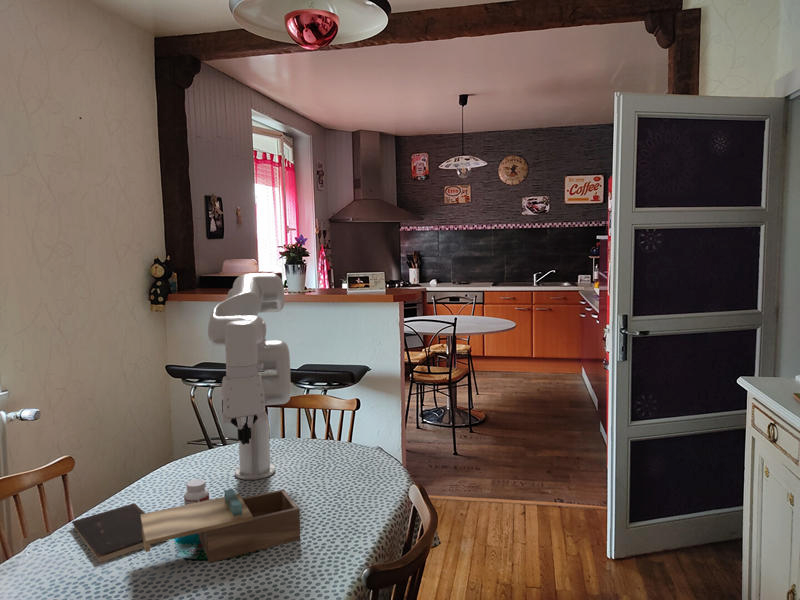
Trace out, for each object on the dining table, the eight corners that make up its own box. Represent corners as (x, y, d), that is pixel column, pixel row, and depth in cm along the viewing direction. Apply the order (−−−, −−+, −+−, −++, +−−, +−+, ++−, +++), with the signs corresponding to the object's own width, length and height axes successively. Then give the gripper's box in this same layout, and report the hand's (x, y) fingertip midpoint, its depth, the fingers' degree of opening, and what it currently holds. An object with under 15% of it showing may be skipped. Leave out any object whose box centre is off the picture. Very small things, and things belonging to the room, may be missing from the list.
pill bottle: (208, 515, 156) (206, 476, 155) (211, 525, 151) (210, 484, 150) (184, 520, 154) (182, 480, 153) (186, 530, 148) (184, 489, 147)
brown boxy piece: (199, 538, 144) (197, 507, 143) (284, 517, 155) (283, 489, 154) (208, 563, 133) (207, 530, 132) (300, 539, 143) (299, 508, 143)
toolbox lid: (141, 530, 138) (139, 504, 137) (239, 508, 149) (238, 484, 148) (146, 558, 126) (145, 529, 125) (253, 532, 137) (252, 506, 136)
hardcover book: (98, 565, 133) (98, 556, 133) (72, 529, 150) (71, 521, 150) (168, 541, 144) (167, 532, 144) (136, 510, 161) (136, 502, 161)
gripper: (267, 364, 149) (270, 432, 151) (207, 371, 142) (211, 442, 144) (276, 370, 142) (278, 442, 144) (213, 378, 135) (216, 453, 137)
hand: (244, 442), depth 144 cm, fingers closed
